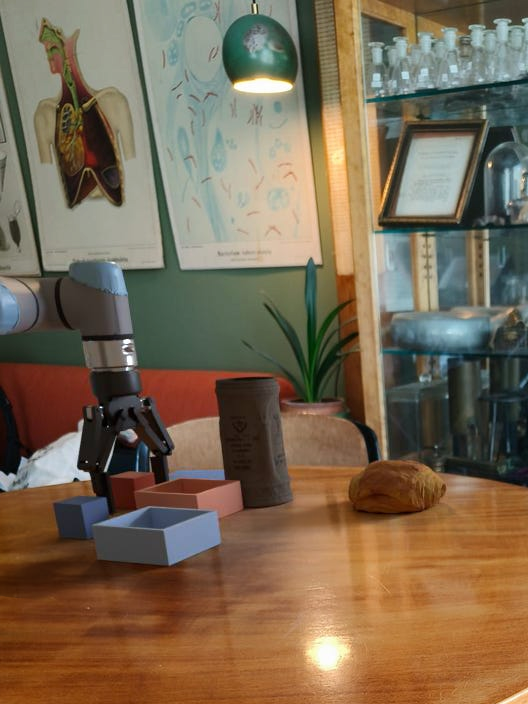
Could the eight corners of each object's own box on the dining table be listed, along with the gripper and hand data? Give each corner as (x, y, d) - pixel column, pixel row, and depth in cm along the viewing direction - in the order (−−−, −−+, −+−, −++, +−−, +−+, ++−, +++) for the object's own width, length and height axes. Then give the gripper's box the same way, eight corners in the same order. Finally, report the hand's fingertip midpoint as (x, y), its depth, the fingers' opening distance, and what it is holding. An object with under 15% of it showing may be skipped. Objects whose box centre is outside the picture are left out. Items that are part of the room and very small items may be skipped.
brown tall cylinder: (285, 507, 140) (274, 376, 134) (218, 509, 140) (203, 378, 134) (303, 494, 155) (294, 375, 149) (242, 495, 155) (230, 376, 149)
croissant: (373, 506, 150) (364, 458, 148) (457, 497, 144) (450, 448, 142) (332, 523, 137) (322, 472, 135) (423, 515, 131) (414, 461, 129)
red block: (113, 507, 144) (107, 476, 142) (133, 501, 148) (128, 471, 146) (138, 509, 142) (133, 478, 140) (158, 502, 146) (153, 472, 145)
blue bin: (97, 559, 115) (90, 525, 113) (153, 538, 124) (148, 506, 123) (169, 566, 111) (163, 530, 109) (221, 543, 121) (217, 510, 119)
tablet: (278, 474, 167) (277, 467, 167) (261, 488, 156) (260, 480, 155) (178, 476, 168) (177, 469, 168) (153, 489, 156) (152, 482, 156)
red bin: (138, 521, 134) (133, 491, 132) (184, 505, 144) (180, 477, 142) (200, 526, 130) (196, 495, 129) (243, 509, 140) (240, 480, 139)
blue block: (59, 537, 126) (52, 502, 124) (84, 528, 130) (78, 495, 129) (87, 539, 124) (80, 504, 123) (112, 531, 129) (106, 497, 127)
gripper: (73, 376, 125) (101, 522, 133) (183, 362, 147) (202, 489, 155) (32, 376, 128) (62, 520, 135) (146, 363, 149) (166, 487, 157)
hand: (137, 504), depth 145 cm, fingers open, 13 cm apart
